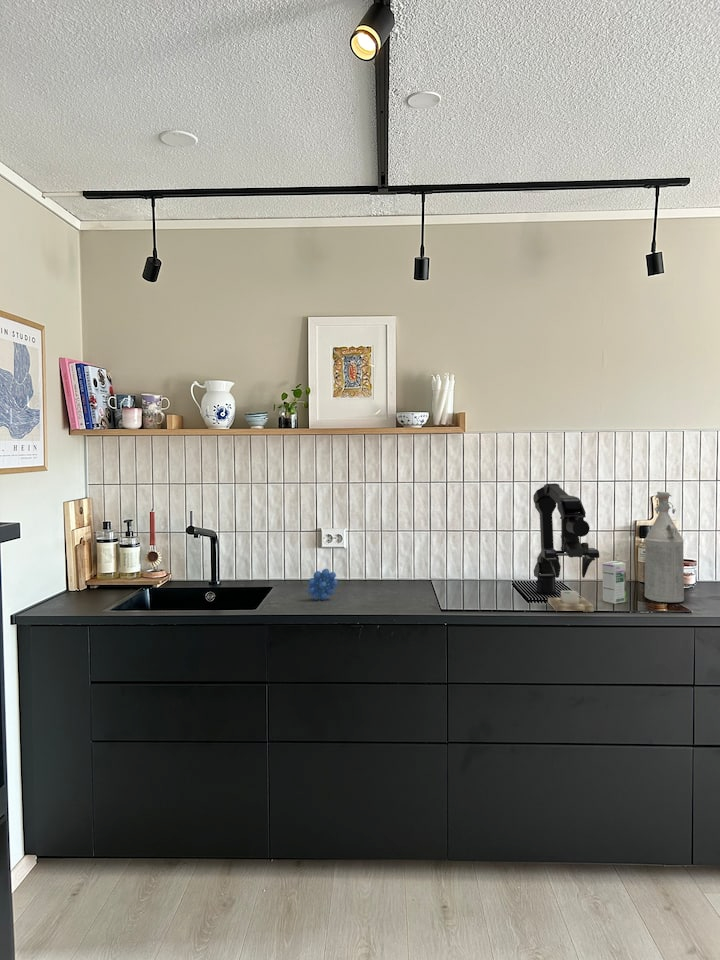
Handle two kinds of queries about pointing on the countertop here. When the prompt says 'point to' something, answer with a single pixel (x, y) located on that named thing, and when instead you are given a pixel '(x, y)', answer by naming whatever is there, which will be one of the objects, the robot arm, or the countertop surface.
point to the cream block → (569, 597)
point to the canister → (664, 557)
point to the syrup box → (614, 582)
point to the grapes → (322, 584)
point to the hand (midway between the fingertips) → (570, 577)
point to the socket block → (571, 605)
